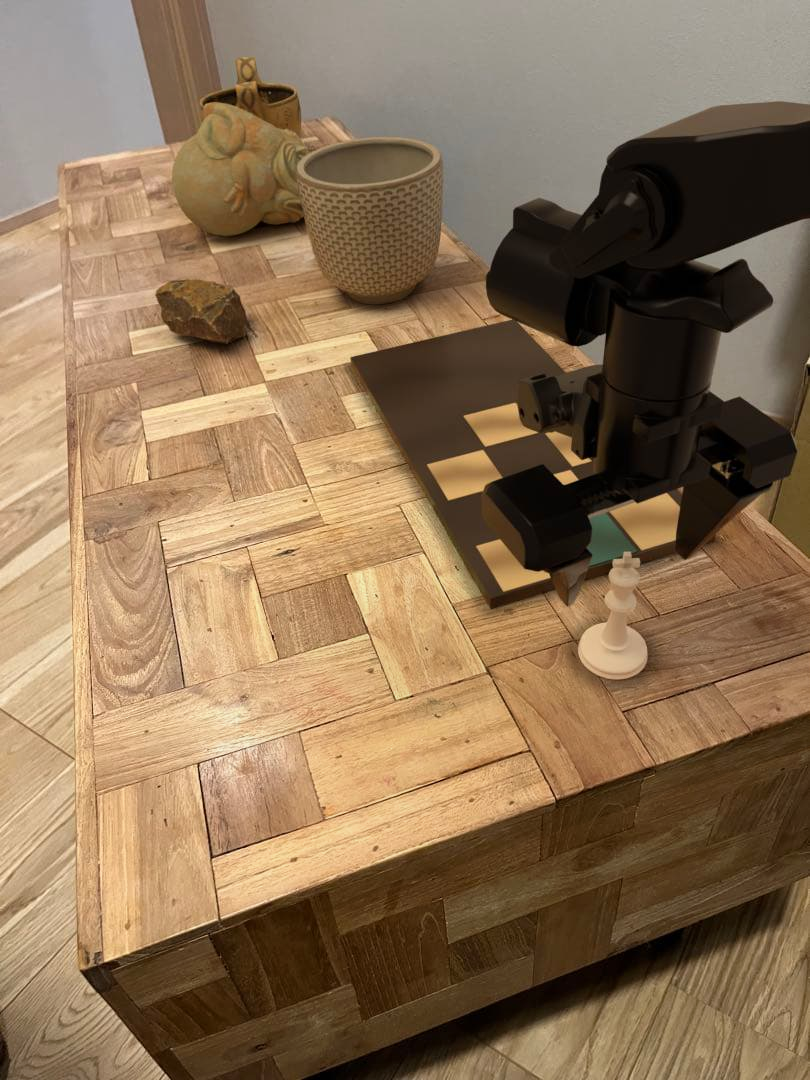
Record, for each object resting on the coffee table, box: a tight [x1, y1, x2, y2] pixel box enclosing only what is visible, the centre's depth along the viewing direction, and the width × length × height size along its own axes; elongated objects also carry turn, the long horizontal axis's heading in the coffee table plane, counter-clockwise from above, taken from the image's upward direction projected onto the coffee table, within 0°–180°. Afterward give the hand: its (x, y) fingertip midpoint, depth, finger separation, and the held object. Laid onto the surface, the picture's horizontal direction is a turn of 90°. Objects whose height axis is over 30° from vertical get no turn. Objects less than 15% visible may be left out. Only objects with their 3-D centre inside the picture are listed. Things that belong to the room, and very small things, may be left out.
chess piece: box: [577, 551, 648, 680], centre depth 57 cm, size 5×5×10 cm
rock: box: [154, 279, 247, 345], centre depth 98 cm, size 14×6×10 cm
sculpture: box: [171, 102, 311, 237], centre depth 120 cm, size 18×20×20 cm
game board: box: [349, 319, 717, 609], centre depth 80 cm, size 40×20×1 cm, turn 19°
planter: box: [296, 136, 444, 305], centre depth 101 cm, size 17×17×16 cm
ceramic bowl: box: [199, 56, 302, 138], centre depth 142 cm, size 22×17×15 cm
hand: (625, 577), depth 55 cm, fingers open, 9 cm apart
